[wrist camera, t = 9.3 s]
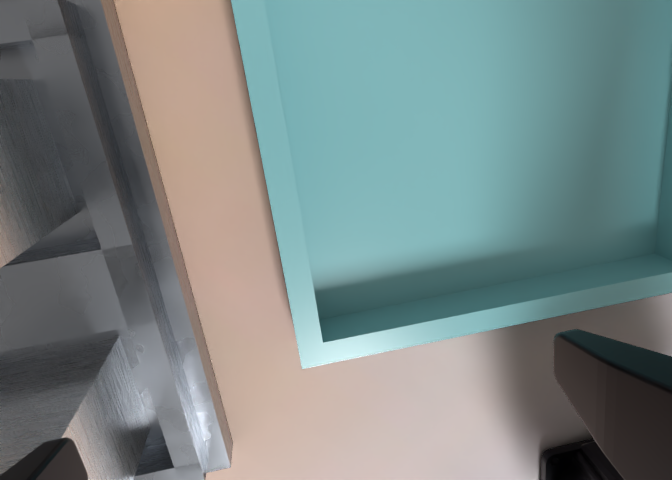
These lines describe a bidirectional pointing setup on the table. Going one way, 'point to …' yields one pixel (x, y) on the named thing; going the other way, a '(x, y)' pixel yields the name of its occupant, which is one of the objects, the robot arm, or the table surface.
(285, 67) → the teal tray
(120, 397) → the block
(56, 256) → the dark grey tray
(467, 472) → the table surface
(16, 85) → the billet
